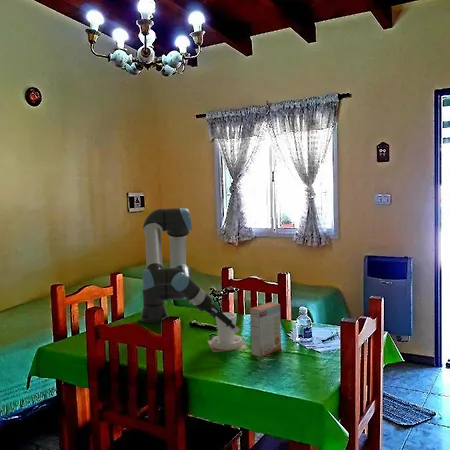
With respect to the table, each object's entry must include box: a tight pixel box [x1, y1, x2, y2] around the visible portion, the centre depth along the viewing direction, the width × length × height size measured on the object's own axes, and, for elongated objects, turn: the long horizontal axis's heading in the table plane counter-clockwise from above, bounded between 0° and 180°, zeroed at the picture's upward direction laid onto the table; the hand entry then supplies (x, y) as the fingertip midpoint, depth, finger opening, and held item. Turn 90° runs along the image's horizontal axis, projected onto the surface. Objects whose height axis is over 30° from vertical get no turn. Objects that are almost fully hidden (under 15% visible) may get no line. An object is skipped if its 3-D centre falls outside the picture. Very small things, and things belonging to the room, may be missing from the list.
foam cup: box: [215, 312, 237, 344], centre depth 213 cm, size 10×9×13 cm
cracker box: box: [249, 301, 282, 358], centre depth 203 cm, size 14×6×21 cm, turn 134°
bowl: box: [211, 334, 243, 350], centre depth 214 cm, size 14×14×2 cm
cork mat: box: [206, 339, 249, 353], centre depth 214 cm, size 16×16×1 cm
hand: (232, 328), depth 215 cm, fingers open, 11 cm apart
